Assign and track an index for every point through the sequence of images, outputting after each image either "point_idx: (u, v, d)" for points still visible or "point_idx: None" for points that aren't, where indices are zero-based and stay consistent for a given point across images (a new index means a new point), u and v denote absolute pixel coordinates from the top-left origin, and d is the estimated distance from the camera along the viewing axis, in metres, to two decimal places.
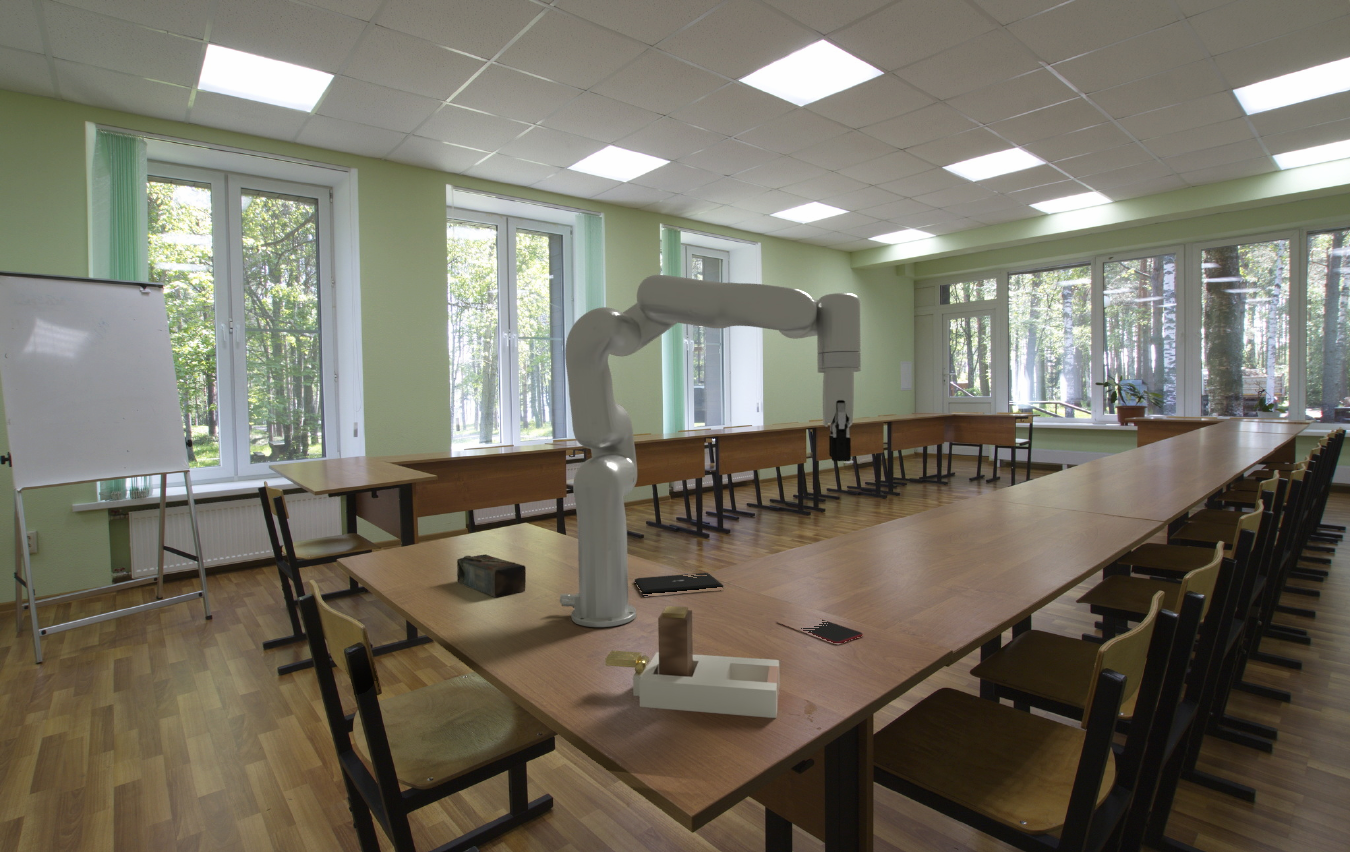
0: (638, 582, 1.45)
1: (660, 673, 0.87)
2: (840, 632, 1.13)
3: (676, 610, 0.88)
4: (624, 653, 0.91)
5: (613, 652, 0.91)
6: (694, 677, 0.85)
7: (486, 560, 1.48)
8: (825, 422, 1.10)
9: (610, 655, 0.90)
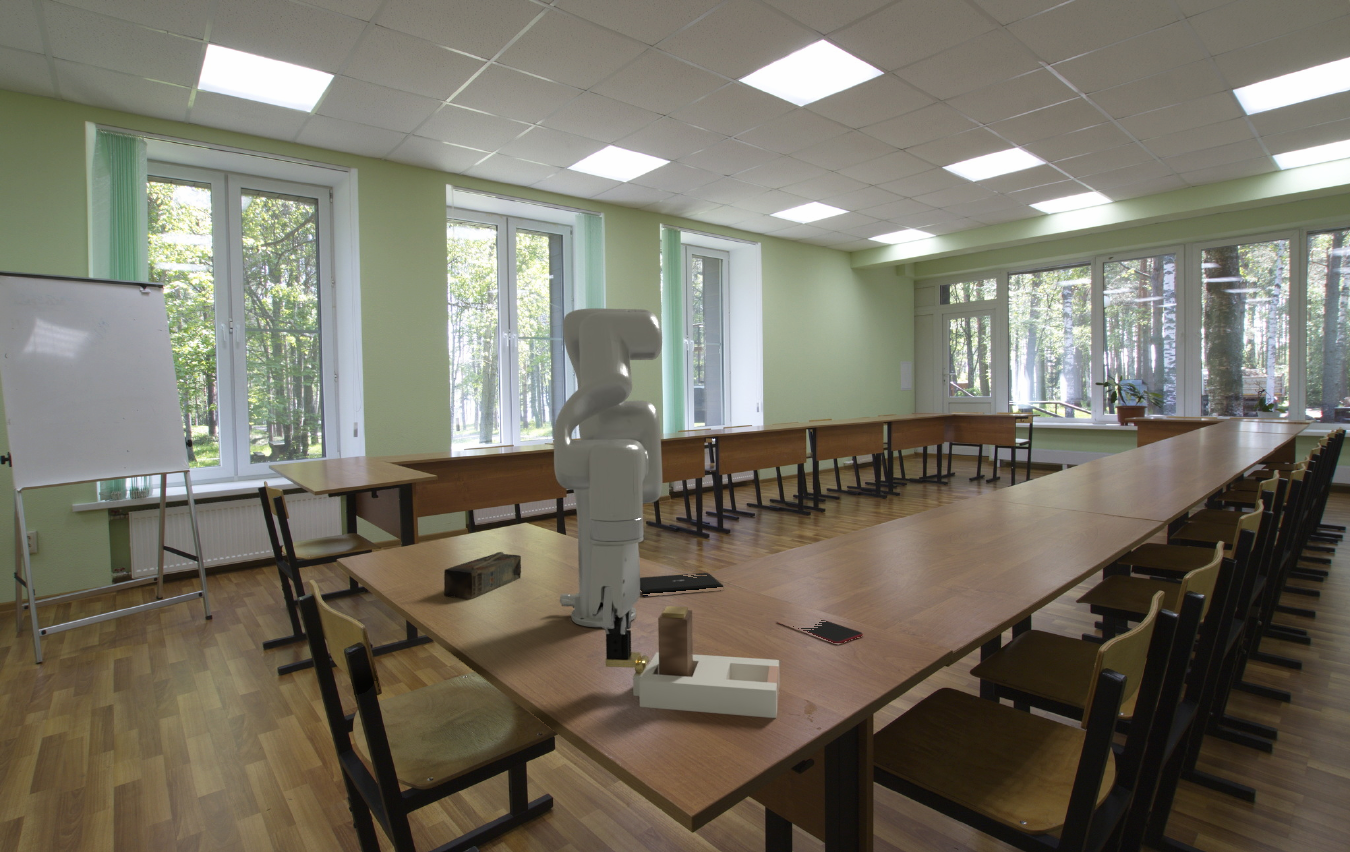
0: None
1: (660, 673, 0.87)
2: (840, 632, 1.13)
3: (676, 610, 0.88)
4: None
5: None
6: (694, 677, 0.85)
7: (488, 560, 1.49)
8: (590, 612, 0.86)
9: None
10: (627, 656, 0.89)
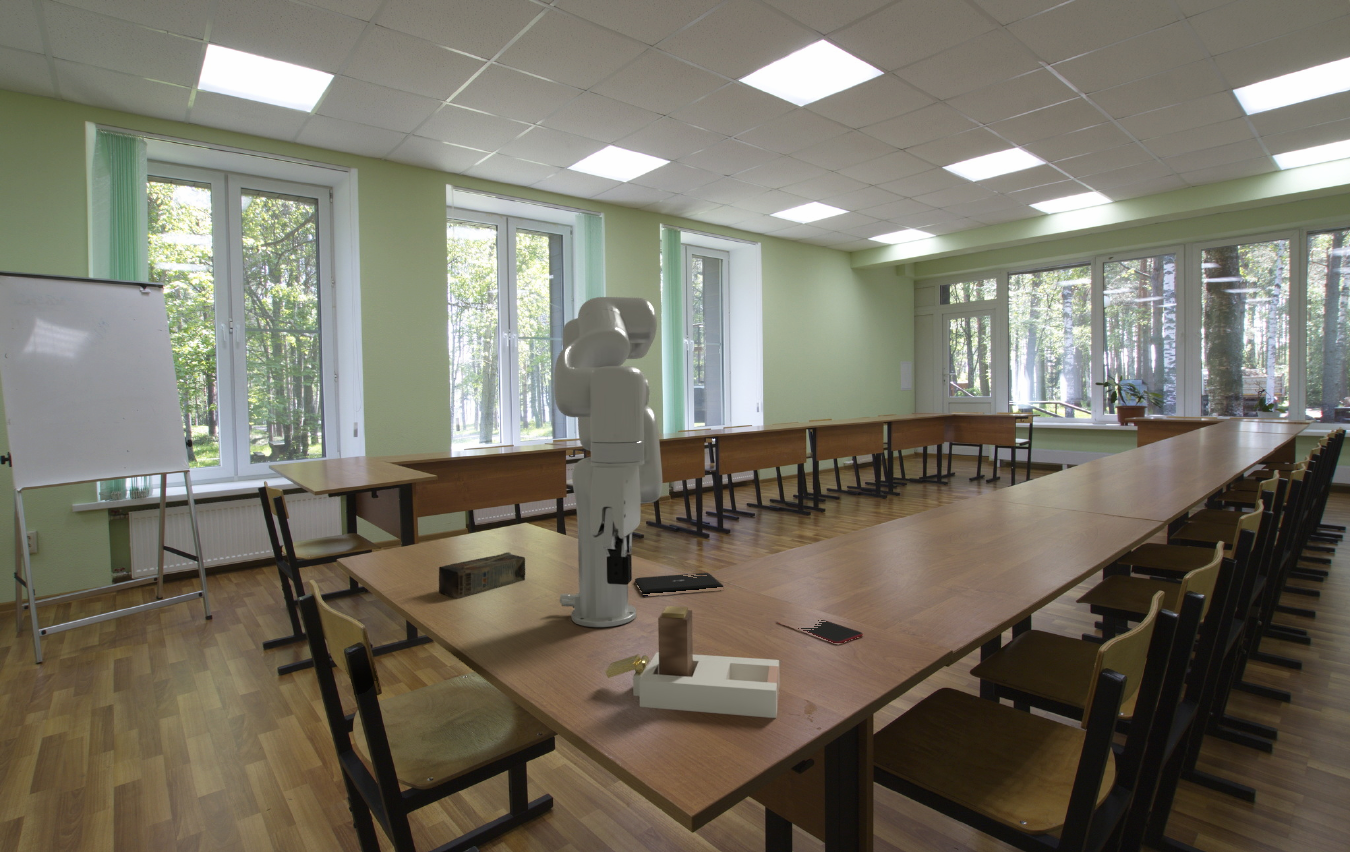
0: (638, 582, 1.45)
1: (660, 673, 0.87)
2: (840, 632, 1.13)
3: (676, 610, 0.88)
4: (623, 660, 0.91)
5: (613, 663, 0.91)
6: (694, 677, 0.85)
7: (489, 560, 1.49)
8: (590, 533, 0.86)
9: (610, 667, 0.90)
10: (628, 579, 0.89)
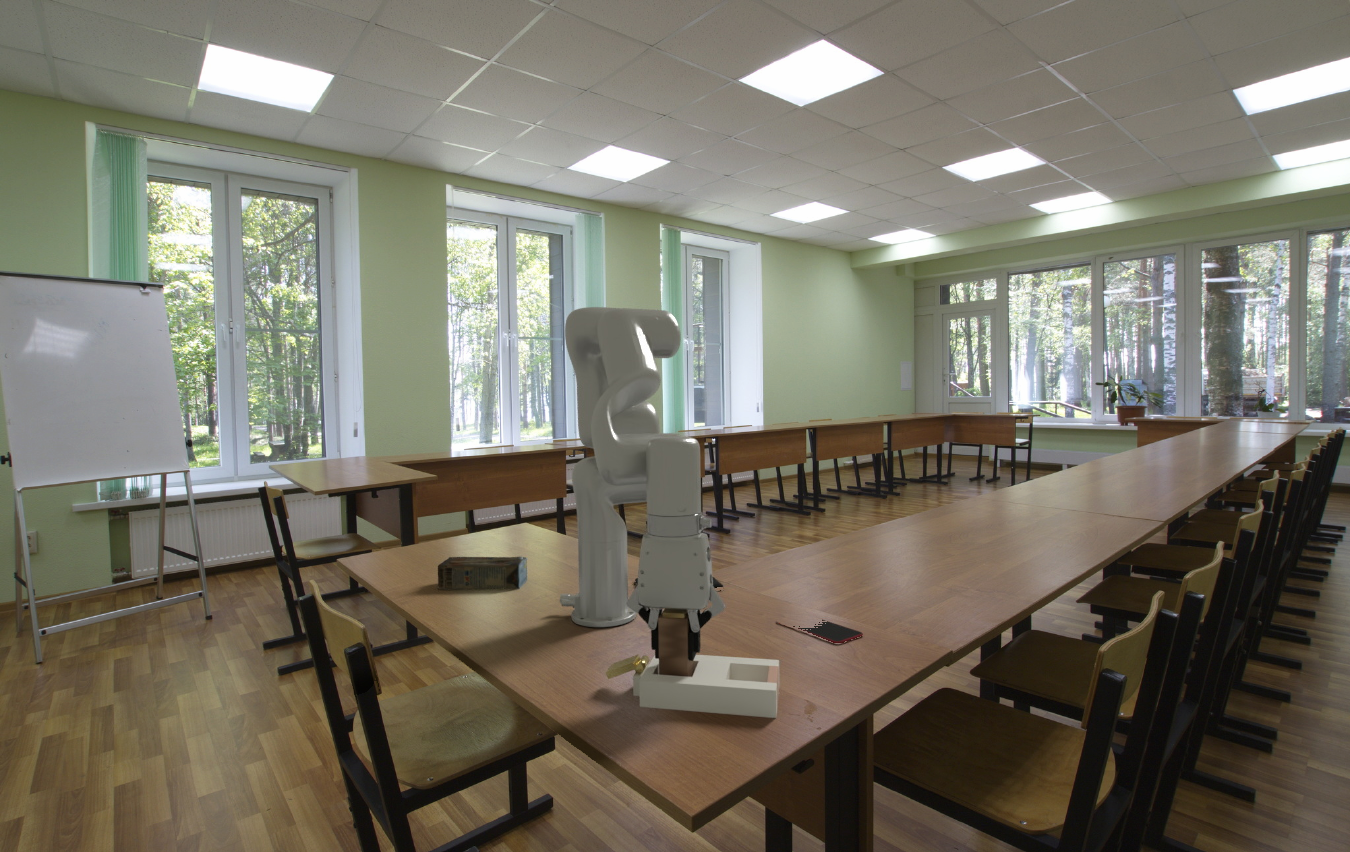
0: None
1: (660, 673, 0.87)
2: (840, 632, 1.13)
3: (676, 610, 0.88)
4: (623, 661, 0.91)
5: (613, 664, 0.91)
6: (694, 677, 0.85)
7: (490, 560, 1.48)
8: None
9: (610, 668, 0.90)
10: (655, 653, 0.87)
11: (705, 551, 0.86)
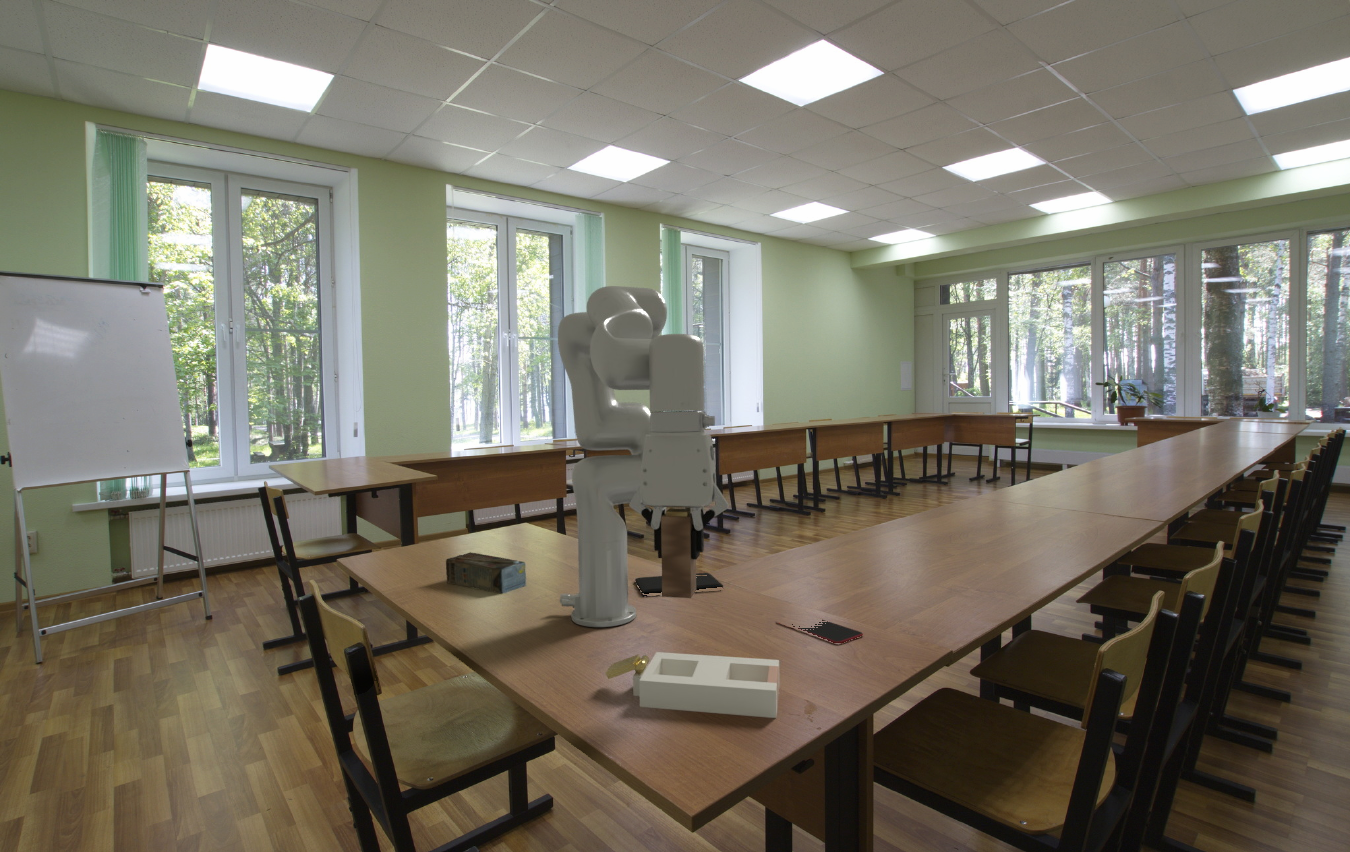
0: (638, 582, 1.46)
1: (663, 572, 0.86)
2: (840, 632, 1.13)
3: (678, 510, 0.87)
4: (623, 661, 0.91)
5: (613, 664, 0.91)
6: (694, 677, 0.85)
7: None
8: None
9: (610, 668, 0.90)
10: (658, 552, 0.87)
11: (708, 448, 0.85)
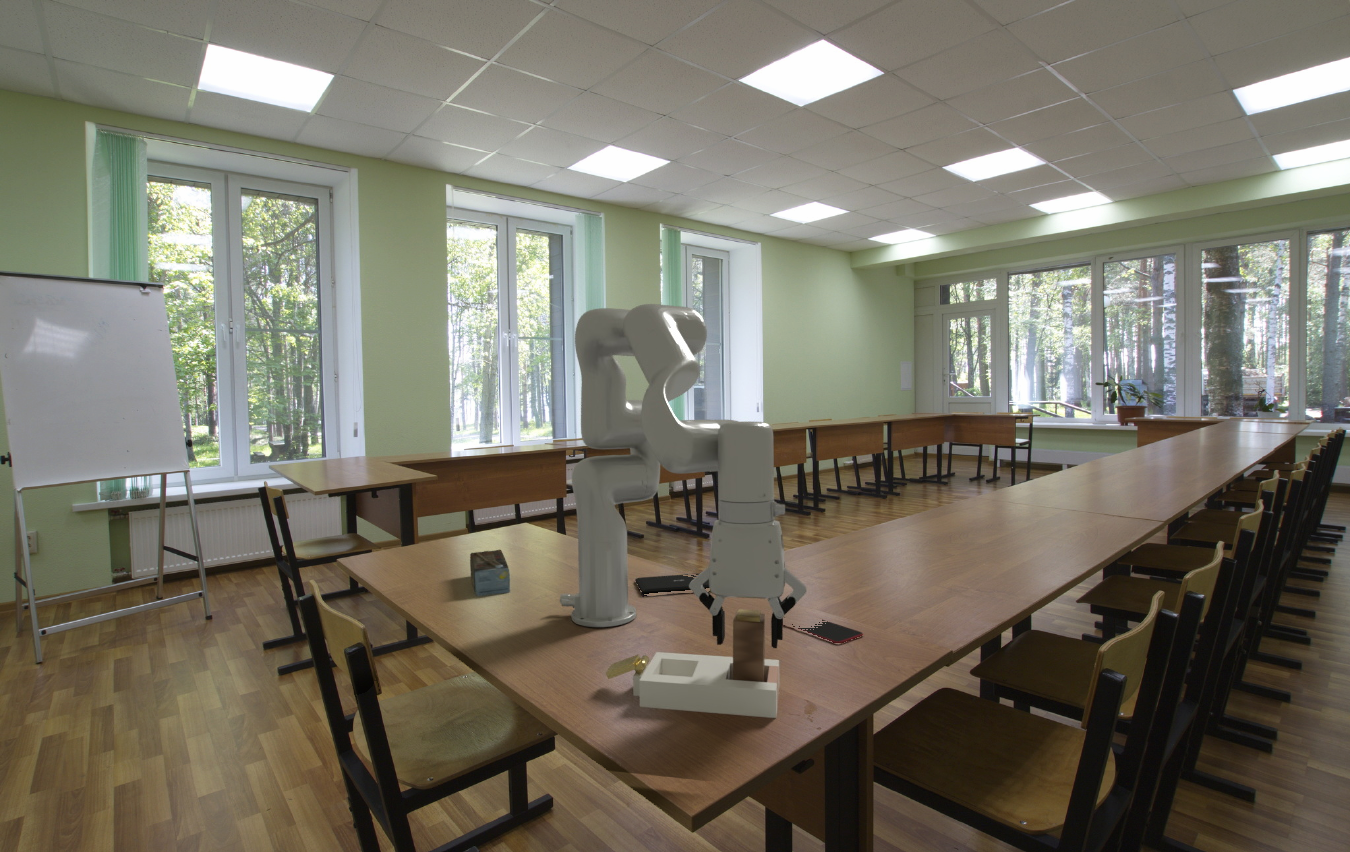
0: (638, 582, 1.46)
1: (734, 678, 0.85)
2: (840, 632, 1.13)
3: (750, 613, 0.86)
4: (623, 661, 0.91)
5: (613, 664, 0.91)
6: (694, 677, 0.85)
7: (489, 560, 1.48)
8: None
9: (610, 668, 0.90)
10: (717, 639, 0.86)
11: (779, 538, 0.84)
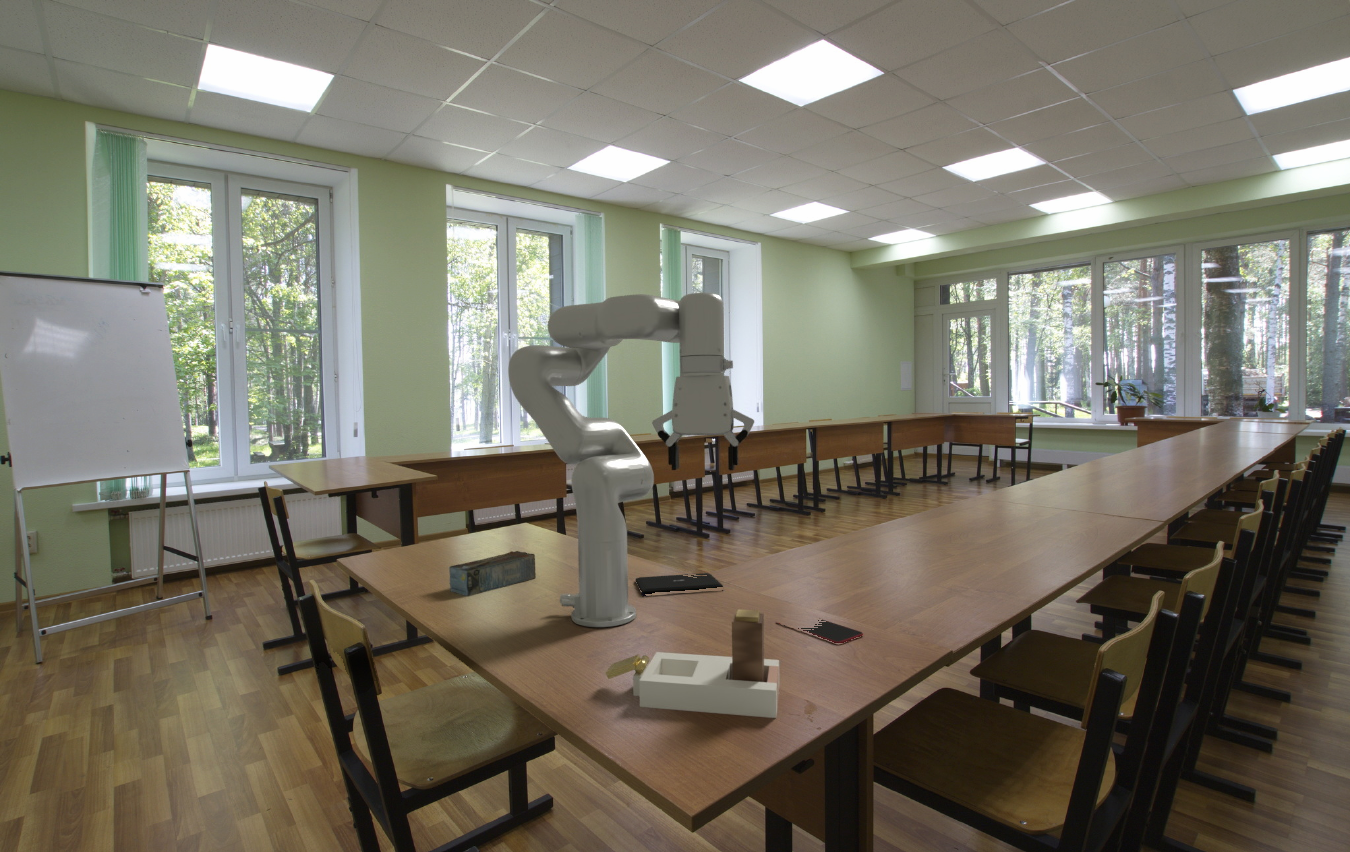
0: (638, 581, 1.46)
1: (734, 678, 0.85)
2: (840, 631, 1.13)
3: (748, 614, 0.86)
4: (623, 661, 0.91)
5: (613, 664, 0.91)
6: (694, 677, 0.85)
7: (487, 561, 1.48)
8: None
9: (610, 668, 0.90)
10: None
11: (728, 386, 1.05)
